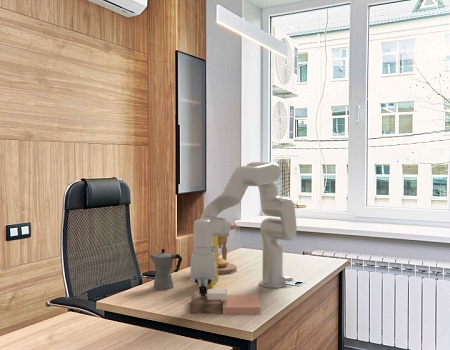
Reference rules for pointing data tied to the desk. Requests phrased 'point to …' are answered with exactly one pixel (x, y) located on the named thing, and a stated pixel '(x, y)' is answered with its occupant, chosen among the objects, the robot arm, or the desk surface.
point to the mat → (241, 304)
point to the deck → (204, 305)
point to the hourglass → (225, 254)
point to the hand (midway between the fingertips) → (203, 295)
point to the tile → (217, 294)
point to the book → (215, 244)
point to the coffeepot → (164, 269)
